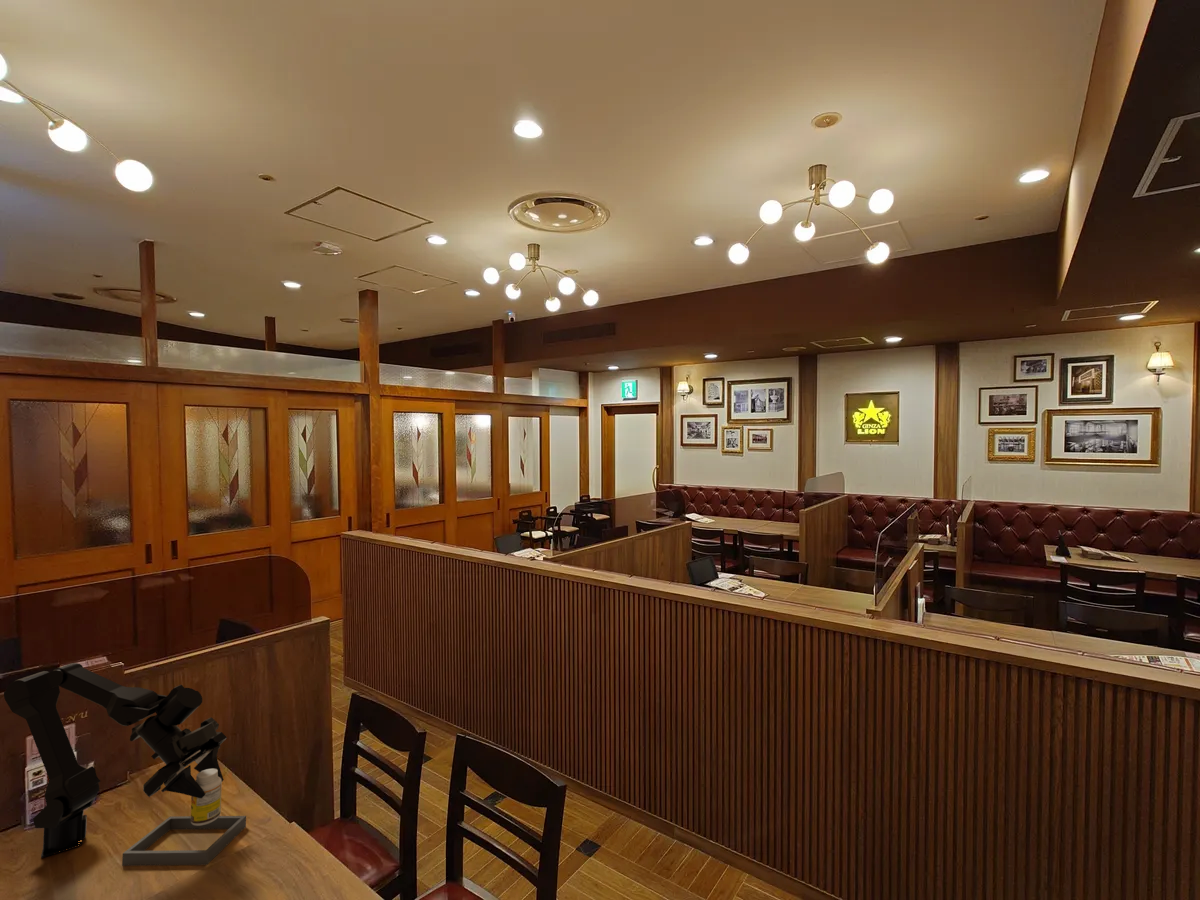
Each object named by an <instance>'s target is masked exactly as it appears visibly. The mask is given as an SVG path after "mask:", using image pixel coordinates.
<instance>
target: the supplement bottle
mask: <svg viewBox="0 0 1200 900" xmlns="http://www.w3.org/2000/svg"><path fill="white" fill-rule="evenodd" d="M195 780H196V782H197V783H198V784H199V785H200V787H201V788H202V789H203V791H204V793H205V796H204V797H203V798H197V797H193V796H190V801H191V802H190V816H191V823H192V824H193V825H196V826H201V825H205V824H208V823H211V822H213V821H214V820H216V819H217V818H218V817H219V816H221V813H222V786H223V785H222V784H223V783H222V782H223V781H222V779H221V778H220V777H218V770H217V769H214V768H212V769H206V770H203V771H201V772H198V773H197V774H196V778H195Z"/></svg>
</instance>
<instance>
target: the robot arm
mask: <svg viewBox="0 0 1200 900" xmlns="http://www.w3.org/2000/svg"><path fill="white" fill-rule="evenodd" d="M60 687H61V688H62V689H63V690H66V691H69V692H71V693H73V694H75V695H78V696H80V697H82V698H84V699H86V700H88V701H90V702H92V703H95V704H97V705H99V706H101V707H102V708H104V709H105V710H106V712H107V716H108V717H109V718H110V719H112V720H113V721H114V722H116V723H117V724H119V725H121V726H123V727H129V726H131V725H134V724H136V723H139V722H140V721H142V720H144V719H145V718H146V720H144V721H143V722H142V723H140V724H137V725H135V726H133V727H132V728H131V734H130V737H129V741H130V742H134V741H135V740H137V739H139V738H141V739H142V740H143V741H144V743H146V745H148V746H149V748H150V749H151V750H152V751H153V752H154V753H153V754H152V755H151V758H152V759H153V760H157V758H160V760H161V761H162V762H163V763H164V764H165V765H164V766H162V767H160V768H159V769H158V770H157V771H156V772H155V773H154V774H153V775H151V777H150V778H149V779H147V780H146V782H145V783H144V784H143V789H142V790H143V791H142V792H143V793H144V794H145V795H146V796H147V797H148V798H150V797H151V796H153V795H155V794H157V793H158V792H159V791H160V790H161V793H164V792H171V793H177V794H182V795H186V796H190V797H191V796H193V797H197V798H203V797H204V796H205V793H204V791H203V789H202V788H201V787H200V785H199V784H198V783H197V782H196V778H194V777H193V776H192V772H191V771H192V770H191V768H192V767H191V764H192V763H193V762H195V763H196V765H195V766H194V767H193V769H194V770H195V771H197V772H198V773H199V772H201V771H203V770H206V769H212V768H214V769H217V770H218V777H220V778H221V779H222V782H223V781H224V777H223V774H222V770H221V768H220V764H219V762H218V761H219V760H218V752H219V749H220V748H221V744H223V742H225V741H226V739H227V736H226V735H225V734H224V732H222V731H217V730H218V729H219V726H220V725H219V722H217V721H216V720H215V719H214V718H213V717H209V718H207V719H204V720H203V721H201V722H200V726H199V727H198V728H196V729H195V730H193V731H192V730H190V729H189V728H184V729H181V728H180V726H179V725H181V724H182V723H184V722H185V721H186V720H187V719H188V718H189V717H190V716H191V715H192V714H193V713H194V712H195V711H196V710H197V709H198V708H199V707H200V706H201V705H202V703H203V697H202V694H201V693H200V692H199V691H198V690H195V689H193V688H192V687H185V686H184V685H182V684H179V685H177V686H175V687H173V688H172V689H171V690H170V691H169V693H168V694H167V695H164V694H158V693H157V692H156V691H154V690H152V689H148V688H144V687H137V686H136V687H135V686H134V687H131V686H129V687H128V686H124V685H121V684H119V683H118V682H114V681H113V680H110V679H108V678H106V677H104V676H102V675H100V674H98V673H96V672H93V671H92V670H89V669H87V668H85V667H83V665H82V664H81V663H78V662H71V663H68V664H66V665H65V664H64V665H63V666H59V667H56V668H54V669H53V670H50V671H47V670H46V671H45V670H43V671H40V672H37V673H34V674H31V675H27V676H25V677H22V678H19V679H16V680H13V681H12V682H9V684H8V685H7V686H6V689H5V691H4V692H3V697H4V701H5V702H6V704H7V705H8V708H9V709H10V711H11V712H12V713H13V714H16V715H17V716H19V717H21V718H22V719H24V720H25V721H26V722H27V725H28V728H29V731H30V733H31V736H32V739H33V740H34V744H35V747H36V749H37V751H38V754H39V757H40V759H41V762H42V764H43V767H44V769H45V772H46V775H47V777H48V782H47V786H46V788H45V789H46V790H45V793H44V801H45V804H46V805H45V806H44V807H43V808H42V810H40V811H39V812H38V813H37V814H36V815H35V816H34V817H33V818H32V821H33V825H34V827H35V829H43V840H42V841H43V842H42V850H41V851H42V852H41V855H40V857H41V858H46V857H50V856H52V854H53V855H55V854H54V853H56V854H59V853H60V852H59V851H62V852H64V851H63V850H66V849H69V848H72V847H75V846H78V845H80V844H82V845H83V841H82V842H78V841H80V840H82V839H83V840H84V839H85V838H86V836H87V823H88V821H87V819H88V818H87V817H88V816H87V814H84V810H86V809H87V808H90V807H92V805H93V803H94V800H95V798H96V797H97V796H98V792H99V791H100V784H99V783H101V779H100V778H99V777H98V775H97V772H96V768H95V767H94V766H90V767H88V768H86V767H85V766H82V765H80V763H78V760H77V756H76V755H75V751H74V749H73V746H72V744H71V742H70V740H69V736H68V734H67V732H66V729H65V727H64V724H63V721H62V718H61V717H60V713H59V711H58V708H57V704H58V701H59V697H60V694H61V690H60ZM154 714H155V715H154ZM163 785H164V786H165V787H164V786H163ZM162 786H163V788H162ZM161 788H162V789H161ZM78 843H80V844H78ZM78 847H79V846H78ZM75 848H76V847H75ZM72 849H73V848H72ZM69 850H70V849H69ZM66 851H67V850H66ZM58 852H59V853H58Z"/></svg>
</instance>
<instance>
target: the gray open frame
mask: <svg viewBox="0 0 1200 900" xmlns="http://www.w3.org/2000/svg"><path fill="white" fill-rule="evenodd" d="M246 827H247V815H220V816H219V817H218V818H217V819H216V820H214V821H213V822H211V823H208V824H205V825H201V826H196V825H193V824H192V823H191V815H189V816H188V815H187V816H186V815H184V816H182V815H181V816H168V817H167V818H166V819H165V820H164V821H162V822H161V823H160V824H159V825H157V826H156V827H155V828H153V829H152V830H151V831H150V832H148V833H146V835H144V836H143V837H142V838H140V839H139V840H138V841H136V842H135V843H134V844H132V845H131V846H130V847H129V848H128V849H126V850H125V851H124V852H123V853H122V858H121V859H122V860H121V861H122V862H121V863H122V864H121V866H123V867H124V866H125V867H126V866H131V867H132V866H133V867H134V866H207V865H208V864H209V863H210V862H211V861H213V859H215V857H217V856H218V854H220V853H221V852H222V851H223V850H224V849H225V848H226V847H227V846H228V845H229V844H230V843H231V842H232V841H233V840H234V839H235V838H236V837H237V836H238V835H239V834H240V833H241V832H242V831H244V829H245V828H246ZM172 830H226V831H225V832H224V833H223V834H222V835H220V836H219V837H218V838H217V839H216V840H215V841H214V842H213V843H212V844H210V846H209V847H208V848H207V849H203V850H202V849H201V850H200V849H199V850H197V849H196V850H195V849H194V850H192V849H191V850H190V849H189V850H188V849H187V850H183V849H182V850H181V849H180V850H178V849H177V850H176V849H175V850H147V849H148V848H150V847H151V846H152V845H153V844H155V843H156V842H157V841H159V840H160V839H161V838H162V837H164V836H165V835H166V834H167V833H168V832H170V831H172Z"/></svg>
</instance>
